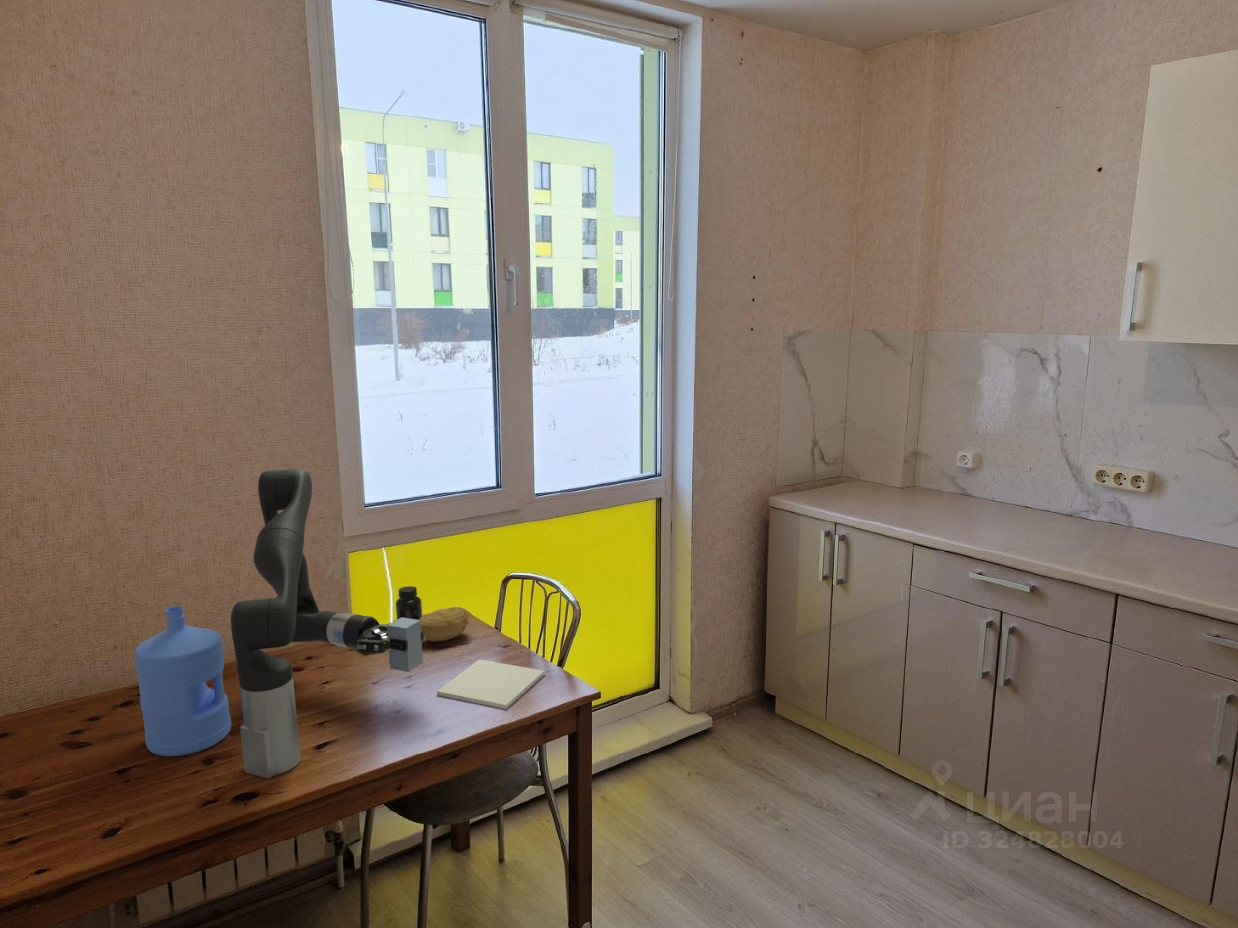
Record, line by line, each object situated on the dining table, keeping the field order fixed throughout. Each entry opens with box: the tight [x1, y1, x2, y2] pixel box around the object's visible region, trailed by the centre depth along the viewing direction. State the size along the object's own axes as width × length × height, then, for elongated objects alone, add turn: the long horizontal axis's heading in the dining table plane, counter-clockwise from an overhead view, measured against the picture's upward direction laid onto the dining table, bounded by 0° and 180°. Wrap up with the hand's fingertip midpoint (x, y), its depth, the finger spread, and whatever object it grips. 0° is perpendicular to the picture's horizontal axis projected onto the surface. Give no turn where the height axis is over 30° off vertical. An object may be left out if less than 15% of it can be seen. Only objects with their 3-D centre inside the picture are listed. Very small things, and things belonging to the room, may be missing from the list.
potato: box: [419, 606, 469, 643], centre depth 212 cm, size 10×14×8 cm
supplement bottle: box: [395, 585, 423, 620], centre depth 218 cm, size 7×7×12 cm
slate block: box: [387, 617, 424, 673], centre depth 176 cm, size 5×5×10 cm
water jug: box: [134, 606, 232, 757], centre depth 163 cm, size 16×16×28 cm
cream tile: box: [436, 659, 545, 710], centre depth 187 cm, size 18×18×1 cm
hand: (414, 641), depth 175 cm, fingers closed on slate block, 5 cm apart
